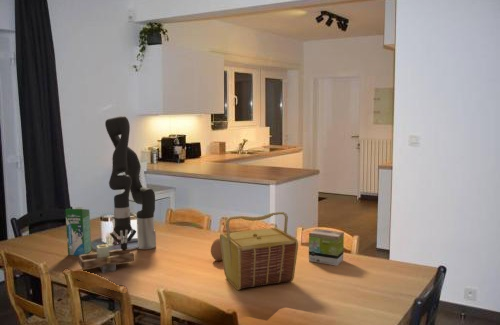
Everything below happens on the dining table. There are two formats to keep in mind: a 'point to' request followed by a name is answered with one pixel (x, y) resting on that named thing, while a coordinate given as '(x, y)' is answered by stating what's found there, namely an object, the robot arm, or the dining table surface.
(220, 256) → the egg
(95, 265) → the beam
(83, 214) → the milk carton
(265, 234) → the picnic basket
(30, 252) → the dining table surface
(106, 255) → the block
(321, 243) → the tea box
